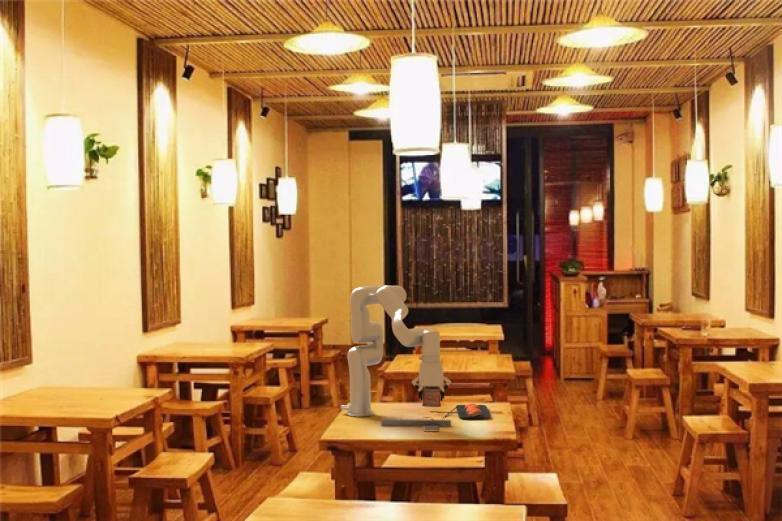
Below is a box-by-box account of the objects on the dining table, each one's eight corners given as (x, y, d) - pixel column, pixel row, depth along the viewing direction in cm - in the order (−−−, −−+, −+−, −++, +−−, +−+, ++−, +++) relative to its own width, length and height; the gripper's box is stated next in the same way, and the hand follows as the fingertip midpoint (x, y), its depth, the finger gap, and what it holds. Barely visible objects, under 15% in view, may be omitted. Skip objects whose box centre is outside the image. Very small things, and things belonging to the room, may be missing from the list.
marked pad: (423, 431, 359) (423, 430, 359) (425, 426, 370) (425, 424, 370) (438, 431, 358) (438, 430, 358) (439, 426, 369) (439, 425, 369)
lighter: (441, 405, 364) (441, 382, 364) (439, 407, 361) (439, 383, 361) (423, 405, 367) (423, 381, 367) (421, 406, 364) (421, 382, 363)
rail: (381, 425, 371) (381, 418, 371) (381, 424, 374) (381, 417, 374) (450, 426, 369) (450, 419, 369) (450, 425, 371) (450, 418, 371)
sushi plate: (491, 421, 381) (491, 412, 381) (424, 421, 382) (424, 413, 382) (485, 408, 410) (485, 400, 410) (423, 408, 411) (423, 400, 411)
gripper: (410, 360, 361) (410, 401, 361) (451, 360, 359) (451, 402, 359) (411, 357, 368) (411, 398, 368) (451, 357, 367) (452, 398, 367)
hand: (431, 400), depth 364 cm, fingers closed on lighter, 8 cm apart
